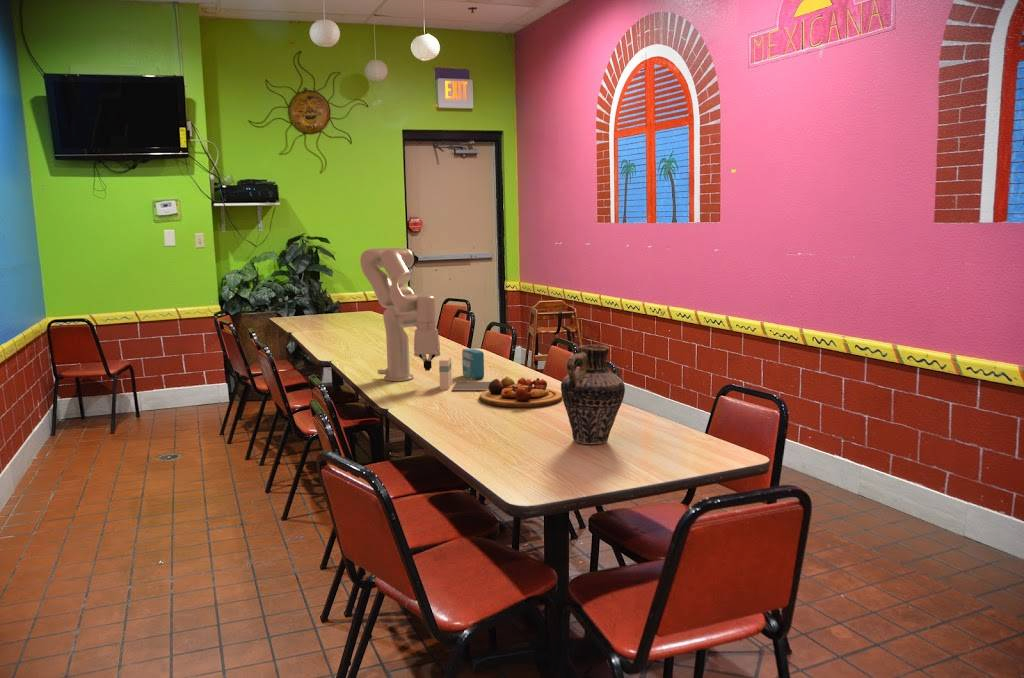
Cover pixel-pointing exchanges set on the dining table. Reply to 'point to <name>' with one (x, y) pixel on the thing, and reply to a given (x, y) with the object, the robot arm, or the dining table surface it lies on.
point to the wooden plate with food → (520, 393)
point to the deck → (445, 372)
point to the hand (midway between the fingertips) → (427, 370)
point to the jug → (591, 395)
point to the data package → (473, 363)
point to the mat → (471, 386)
